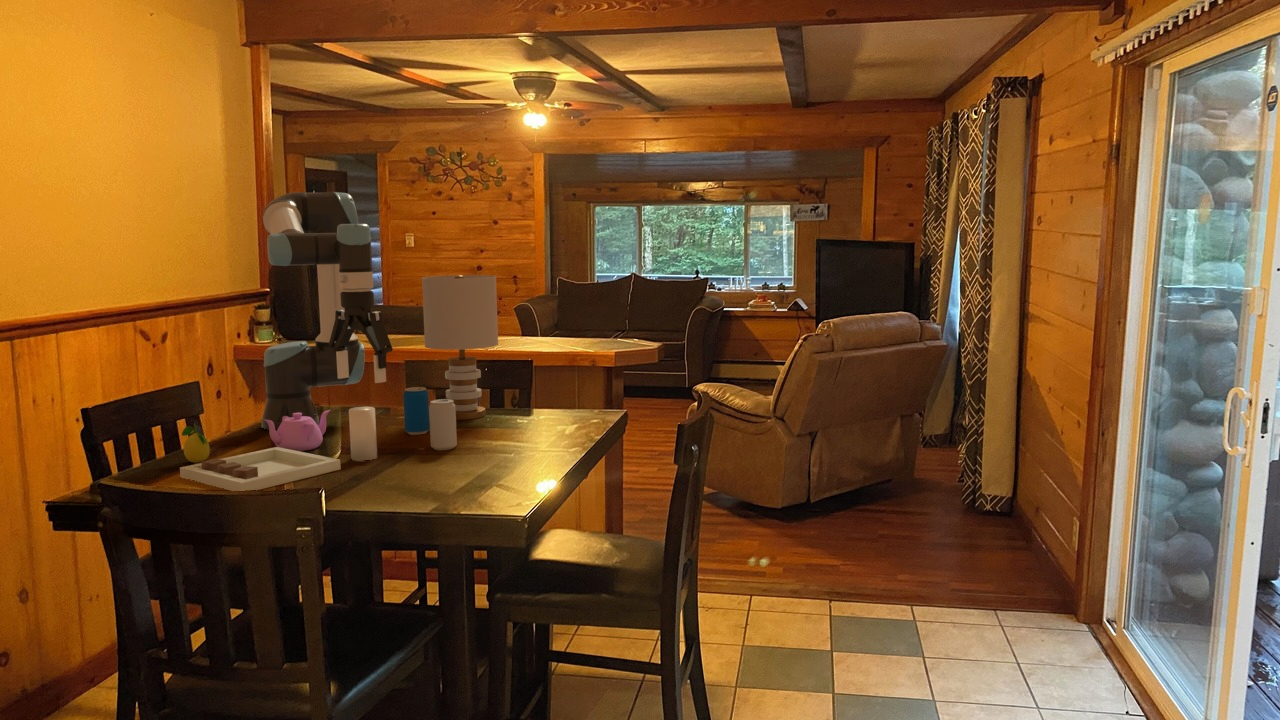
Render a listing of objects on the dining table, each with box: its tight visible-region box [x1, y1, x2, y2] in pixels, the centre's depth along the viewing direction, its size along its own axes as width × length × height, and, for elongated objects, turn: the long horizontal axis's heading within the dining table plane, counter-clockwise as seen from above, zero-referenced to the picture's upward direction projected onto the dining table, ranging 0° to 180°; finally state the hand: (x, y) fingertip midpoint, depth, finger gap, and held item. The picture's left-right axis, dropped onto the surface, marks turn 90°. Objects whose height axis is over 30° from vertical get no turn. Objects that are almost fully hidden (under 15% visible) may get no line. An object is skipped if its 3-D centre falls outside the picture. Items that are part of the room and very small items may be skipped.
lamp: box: [421, 274, 499, 421], centre depth 280 cm, size 21×21×41 cm
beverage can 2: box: [429, 398, 458, 451], centre depth 239 cm, size 6×6×12 cm
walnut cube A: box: [200, 458, 226, 473], centre depth 211 cm, size 4×4×4 cm
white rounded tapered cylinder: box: [348, 406, 378, 462], centre depth 230 cm, size 6×6×12 cm
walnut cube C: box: [232, 466, 258, 480], centre depth 204 cm, size 4×4×4 cm
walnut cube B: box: [217, 462, 241, 476], centre depth 208 cm, size 4×4×4 cm
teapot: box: [263, 409, 331, 452], centre depth 243 cm, size 12×14×9 cm
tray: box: [179, 446, 342, 492], centre depth 214 cm, size 24×24×3 cm
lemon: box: [181, 423, 211, 464], centre depth 225 cm, size 7×6×10 cm
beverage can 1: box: [403, 386, 430, 436], centre depth 258 cm, size 6×6×12 cm
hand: (361, 380), depth 228 cm, fingers open, 13 cm apart
